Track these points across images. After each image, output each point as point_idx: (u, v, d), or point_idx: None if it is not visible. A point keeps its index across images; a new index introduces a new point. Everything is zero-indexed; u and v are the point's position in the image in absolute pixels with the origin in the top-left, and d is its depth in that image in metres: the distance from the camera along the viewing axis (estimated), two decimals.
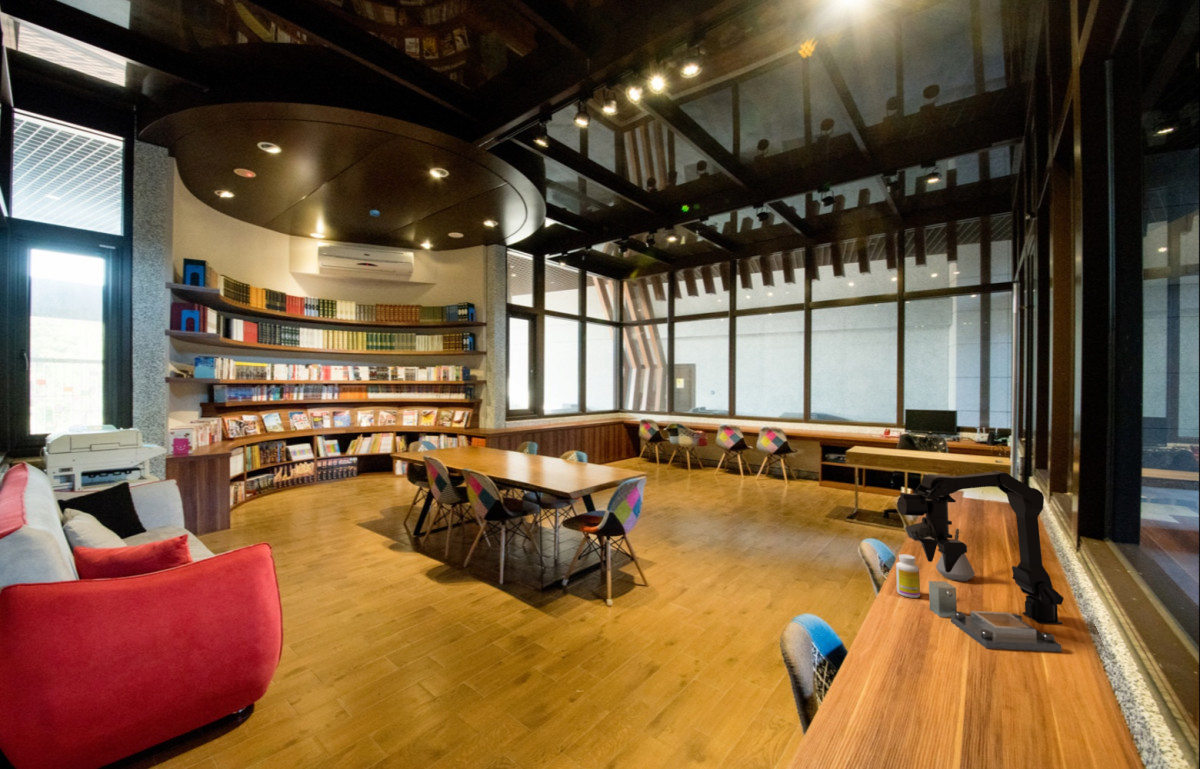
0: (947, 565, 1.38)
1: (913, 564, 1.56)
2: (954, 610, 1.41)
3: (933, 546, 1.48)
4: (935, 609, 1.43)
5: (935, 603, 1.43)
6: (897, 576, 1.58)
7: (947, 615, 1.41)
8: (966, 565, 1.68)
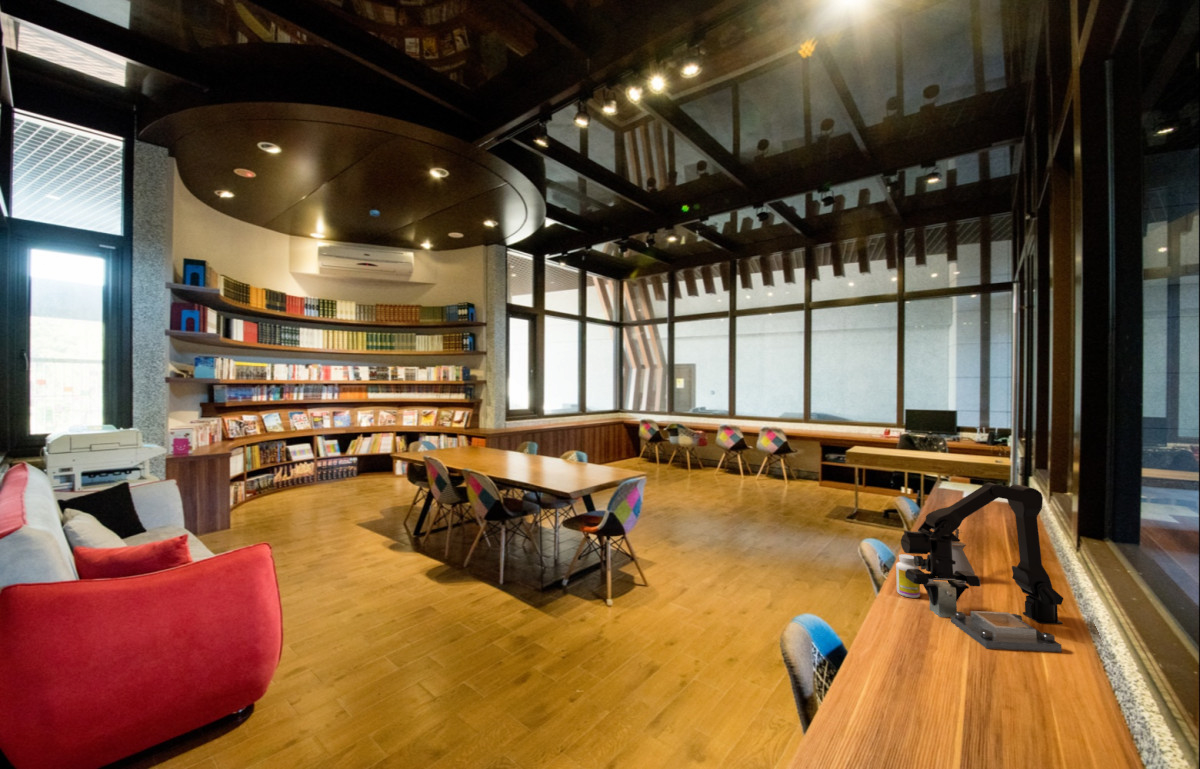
0: (929, 596, 1.44)
1: (913, 564, 1.56)
2: (954, 610, 1.41)
3: None
4: (935, 608, 1.43)
5: None
6: (897, 576, 1.58)
7: (947, 615, 1.41)
8: (966, 565, 1.68)
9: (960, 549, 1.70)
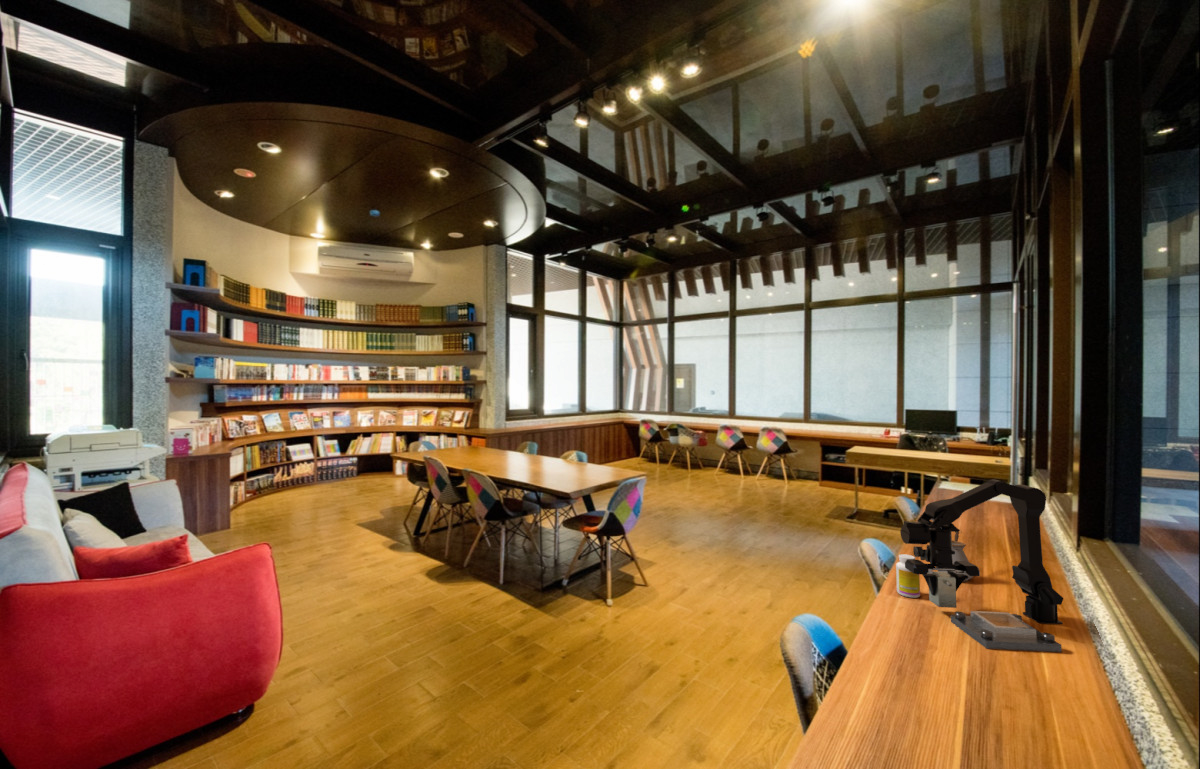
0: (929, 587, 1.44)
1: None
2: (954, 600, 1.41)
3: None
4: (935, 599, 1.43)
5: None
6: (897, 576, 1.58)
7: (947, 605, 1.41)
8: None
9: (960, 549, 1.70)
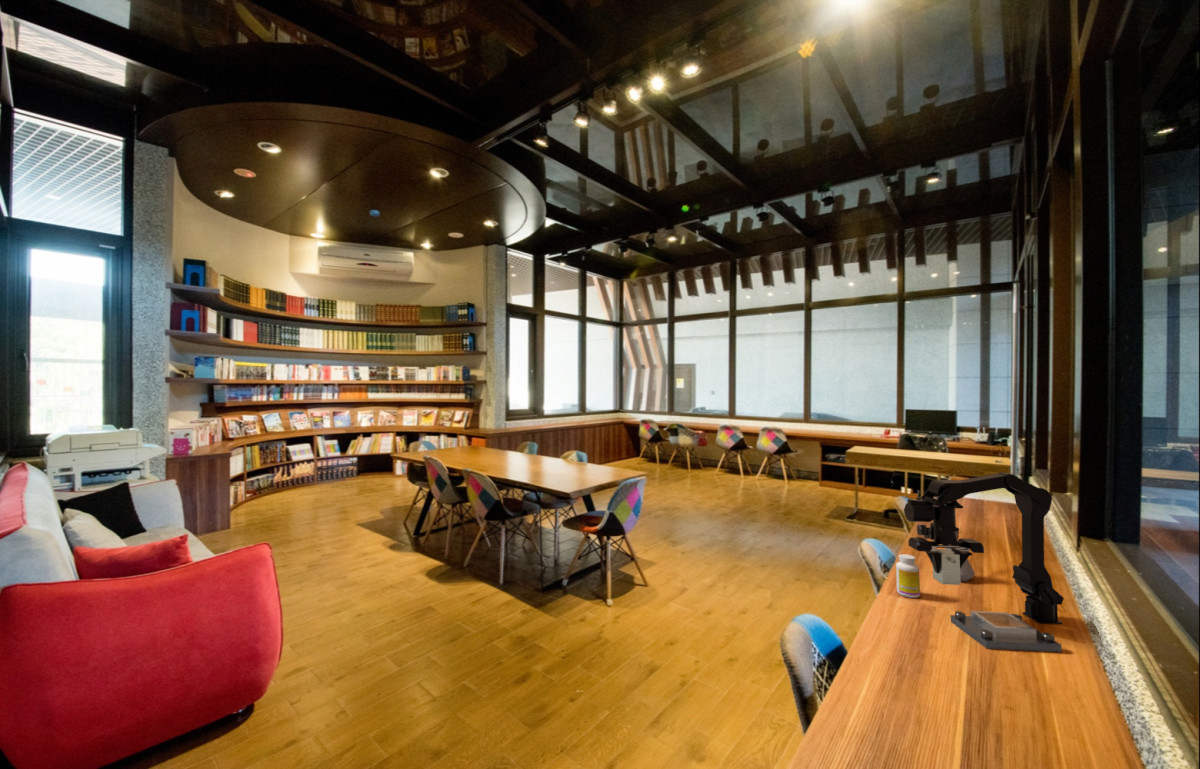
0: (932, 564, 1.43)
1: (913, 564, 1.56)
2: (958, 577, 1.40)
3: None
4: (938, 576, 1.42)
5: None
6: (897, 576, 1.58)
7: (951, 582, 1.40)
8: (966, 565, 1.68)
9: None
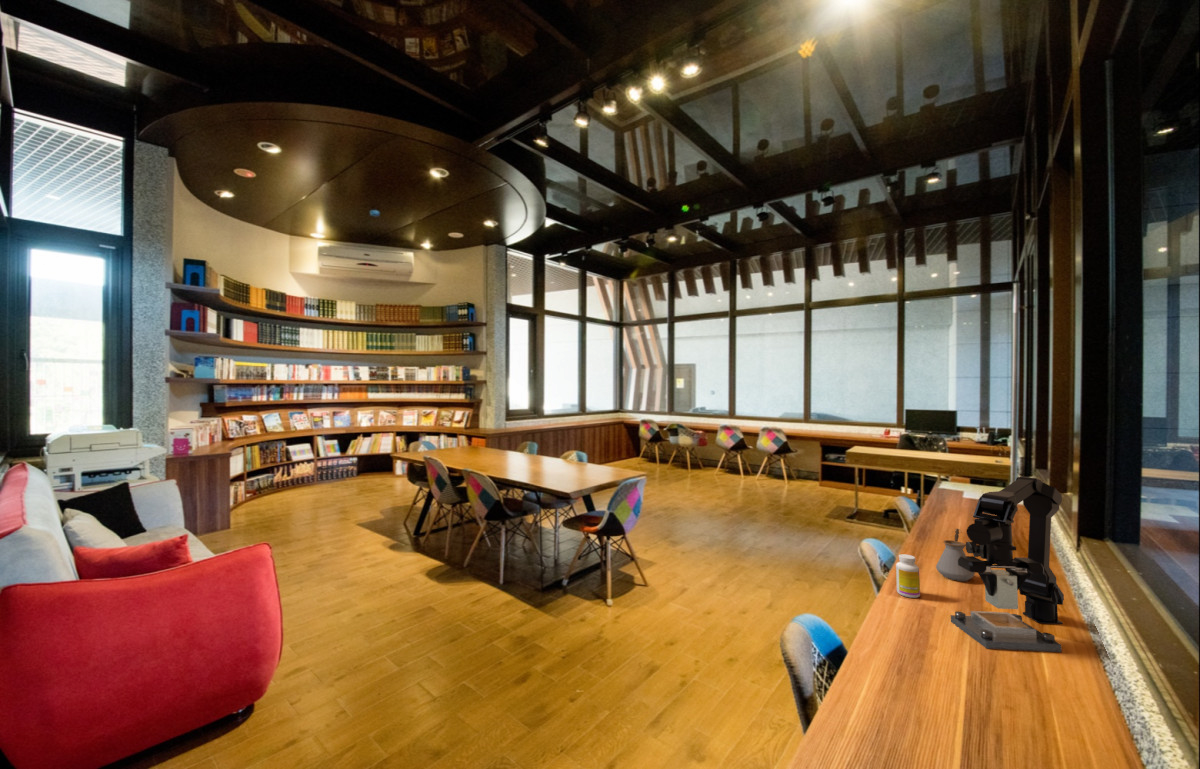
0: (986, 586, 1.31)
1: (913, 564, 1.56)
2: (1015, 601, 1.27)
3: None
4: (993, 599, 1.29)
5: None
6: (897, 576, 1.58)
7: (1007, 606, 1.27)
8: None
9: (960, 549, 1.70)
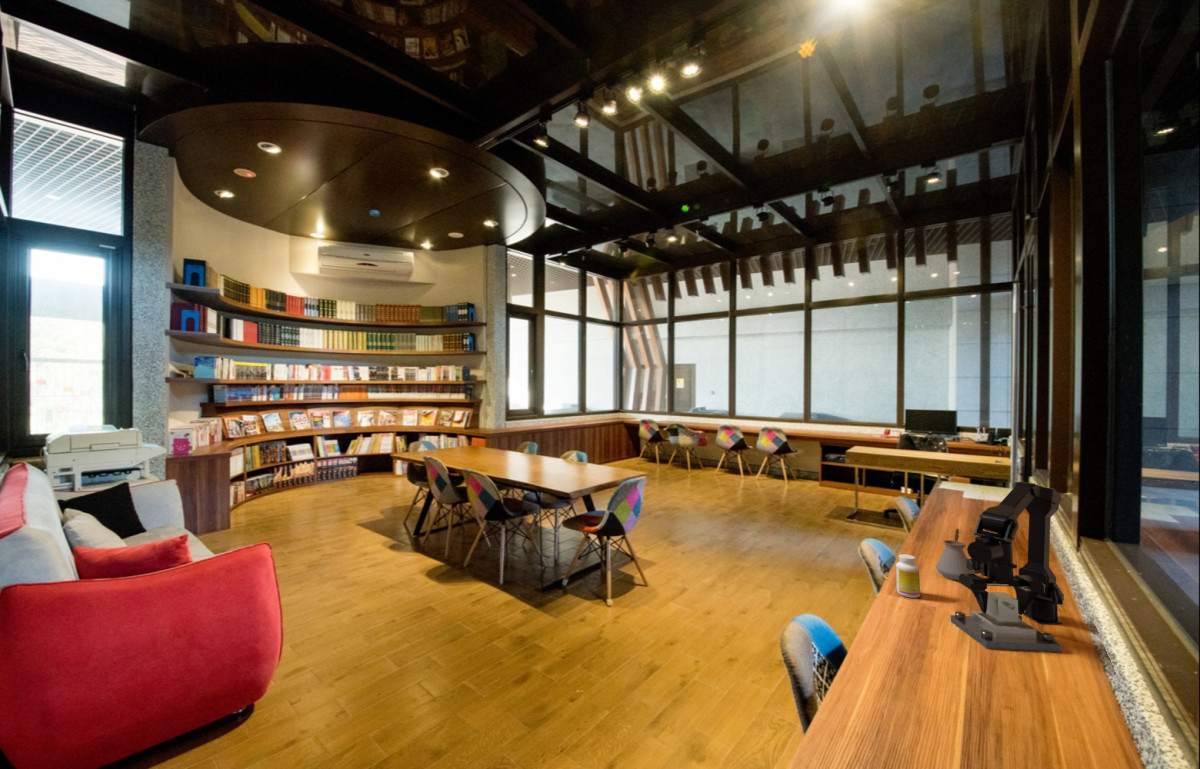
0: (979, 603, 1.31)
1: (913, 564, 1.56)
2: (1016, 624, 1.27)
3: (1023, 599, 1.28)
4: (994, 623, 1.29)
5: (993, 616, 1.29)
6: (897, 576, 1.58)
7: None
8: (966, 565, 1.68)
9: (960, 549, 1.70)
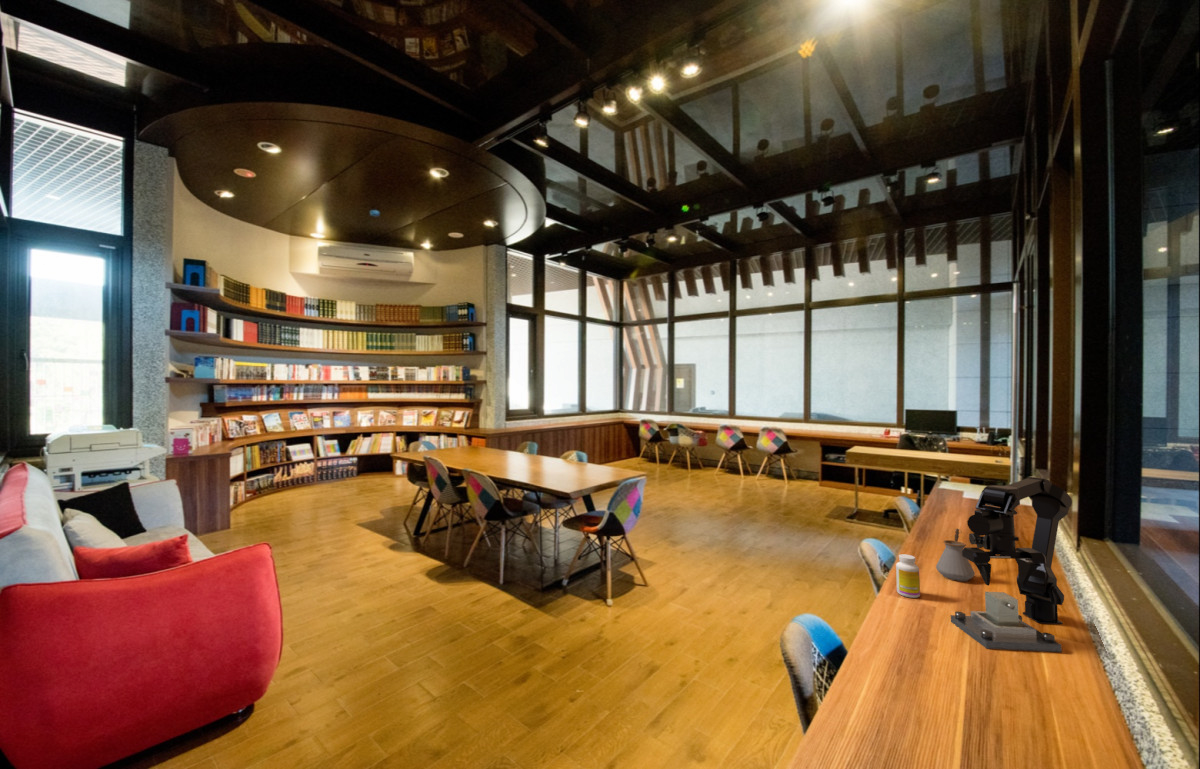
0: (982, 576, 1.34)
1: (913, 564, 1.56)
2: (1016, 624, 1.27)
3: (1025, 570, 1.32)
4: (994, 623, 1.29)
5: (993, 616, 1.29)
6: (897, 576, 1.58)
7: None
8: (966, 565, 1.68)
9: (960, 549, 1.70)
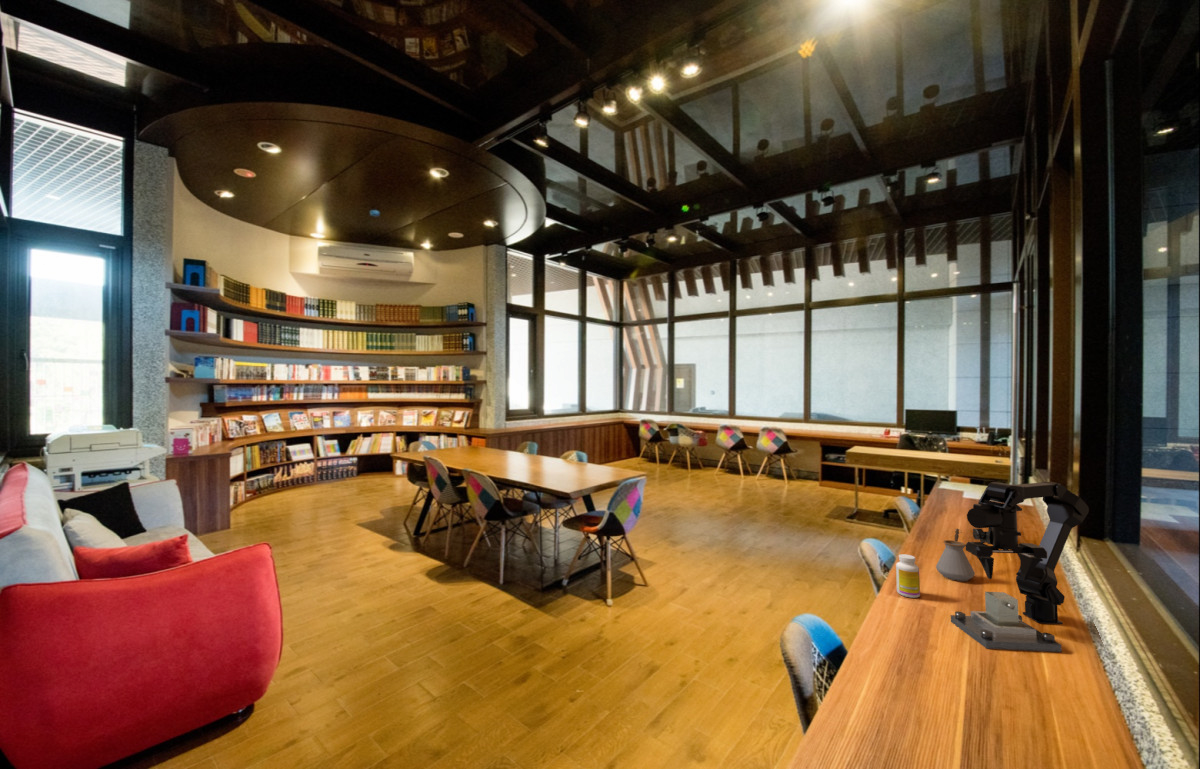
0: (985, 570, 1.38)
1: (913, 564, 1.56)
2: (1016, 624, 1.27)
3: (1027, 565, 1.35)
4: (994, 623, 1.29)
5: (993, 616, 1.29)
6: (897, 576, 1.58)
7: None
8: (966, 565, 1.68)
9: (960, 549, 1.70)
